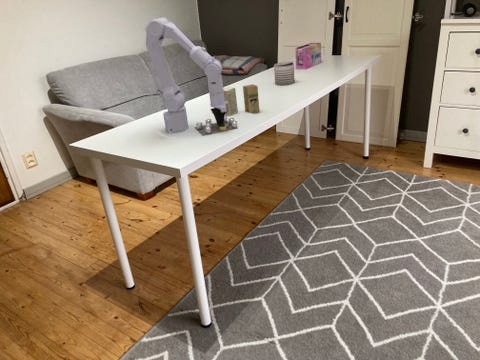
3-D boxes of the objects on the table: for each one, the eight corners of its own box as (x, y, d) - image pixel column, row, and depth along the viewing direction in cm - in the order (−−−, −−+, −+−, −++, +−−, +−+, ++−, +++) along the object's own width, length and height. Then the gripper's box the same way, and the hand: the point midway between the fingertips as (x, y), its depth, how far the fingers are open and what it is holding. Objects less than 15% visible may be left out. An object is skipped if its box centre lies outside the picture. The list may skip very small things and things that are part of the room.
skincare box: (231, 113, 181) (228, 86, 176) (238, 114, 179) (235, 87, 174) (222, 116, 177) (218, 90, 172) (229, 118, 175) (226, 90, 169)
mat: (202, 137, 154) (202, 135, 153) (194, 129, 165) (194, 127, 164) (238, 130, 158) (238, 128, 158) (227, 122, 169) (227, 120, 169)
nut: (222, 131, 156) (221, 127, 155) (215, 129, 159) (215, 125, 158) (230, 128, 158) (230, 125, 157) (224, 126, 161) (223, 122, 160)
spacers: (203, 135, 154) (202, 129, 152) (195, 127, 164) (194, 121, 163) (239, 127, 158) (239, 121, 157) (229, 120, 168) (229, 114, 167)
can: (285, 86, 219) (284, 64, 214) (270, 84, 227) (269, 63, 222) (298, 82, 225) (298, 61, 220) (284, 80, 233) (283, 60, 228)
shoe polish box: (245, 112, 180) (242, 86, 175) (254, 110, 182) (252, 84, 177) (249, 114, 176) (247, 88, 171) (259, 112, 178) (257, 86, 173)
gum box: (305, 69, 257) (304, 48, 251) (294, 69, 262) (293, 48, 256) (321, 62, 274) (321, 42, 268) (311, 62, 279) (310, 42, 273)
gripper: (232, 93, 150) (235, 127, 156) (220, 87, 162) (223, 119, 168) (214, 97, 148) (219, 131, 154) (203, 90, 160) (208, 122, 166)
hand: (220, 125), depth 161 cm, fingers closed
